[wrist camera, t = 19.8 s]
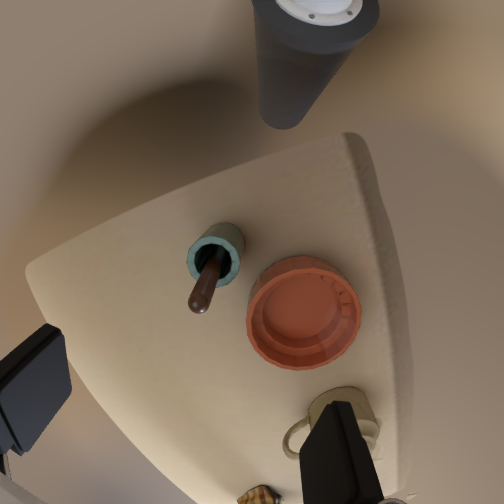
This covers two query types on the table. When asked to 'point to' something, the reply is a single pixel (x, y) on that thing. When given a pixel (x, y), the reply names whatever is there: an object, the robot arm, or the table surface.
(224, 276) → the stick holder
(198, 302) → the stirring stick
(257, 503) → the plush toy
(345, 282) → the mixing bowl
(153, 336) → the table surface
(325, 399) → the sugar bowl
